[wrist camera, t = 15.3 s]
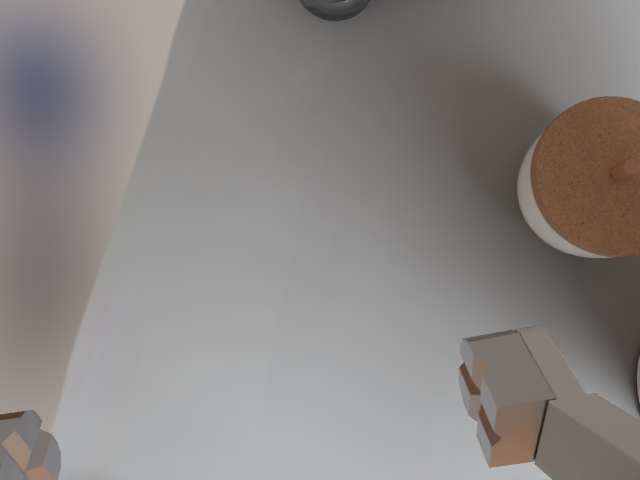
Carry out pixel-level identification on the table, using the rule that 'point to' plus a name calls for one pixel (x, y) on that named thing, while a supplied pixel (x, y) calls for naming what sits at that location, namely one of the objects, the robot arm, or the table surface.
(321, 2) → the grey metal block
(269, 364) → the table surface
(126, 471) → the table surface
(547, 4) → the table surface
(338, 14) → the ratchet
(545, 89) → the table surface
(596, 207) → the lidded jar
